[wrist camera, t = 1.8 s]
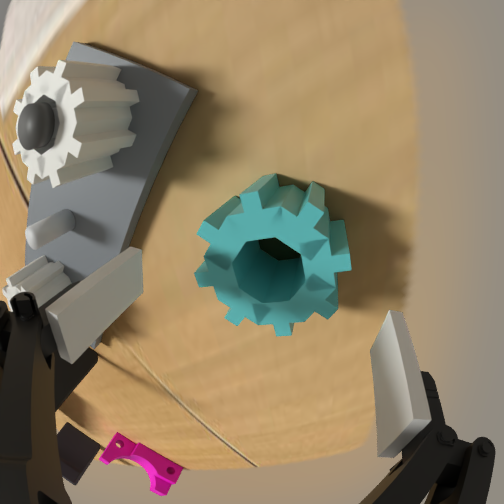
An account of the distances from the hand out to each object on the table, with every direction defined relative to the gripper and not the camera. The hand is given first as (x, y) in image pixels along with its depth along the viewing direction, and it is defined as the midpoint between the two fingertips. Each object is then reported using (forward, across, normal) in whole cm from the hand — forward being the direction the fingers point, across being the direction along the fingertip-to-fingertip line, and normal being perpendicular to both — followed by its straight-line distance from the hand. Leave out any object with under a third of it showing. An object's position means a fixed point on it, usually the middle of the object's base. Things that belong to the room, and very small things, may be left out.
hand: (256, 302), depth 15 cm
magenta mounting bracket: (+10, -17, -52) cm, 56 cm away
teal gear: (+9, 0, 0) cm, 9 cm away
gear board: (+9, -20, -2) cm, 22 cm away
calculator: (+10, -39, -66) cm, 77 cm away
